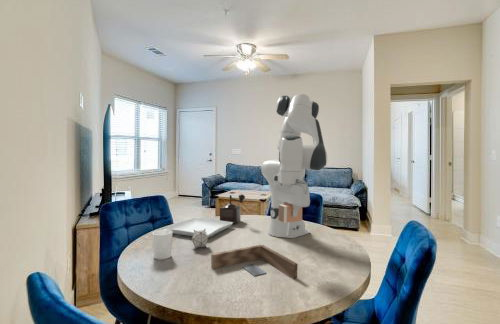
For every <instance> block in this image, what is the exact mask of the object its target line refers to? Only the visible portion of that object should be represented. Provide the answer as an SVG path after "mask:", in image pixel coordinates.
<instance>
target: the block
mask: <svg viewBox="0 0 500 324" xmlns="http://www.w3.org/2000/svg"><path fill="white" fill-rule="evenodd" d="M293 208H294V207H293V204H280V205H279V215H278V220H279V221H281V222H283V223H287V222H297V221H302V220H303V207H300V208H299V210H298V213H297V216H296V217H294V216H292V215H291V211H293Z"/></svg>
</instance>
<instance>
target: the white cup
mask: <svg viewBox="0 0 500 324" xmlns="http://www.w3.org/2000/svg"><path fill="white" fill-rule="evenodd" d="M151 233H152V249H153V258H154V259H155V260H166V259H168V258H169V259H170V258H171V257H172V249H173V236H174V235H173V234H174V233H173V231H171V230H165V229H157V230H154V231H153V232H151Z"/></svg>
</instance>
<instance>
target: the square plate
mask: <svg viewBox="0 0 500 324" xmlns="http://www.w3.org/2000/svg"><path fill="white" fill-rule="evenodd" d="M232 223H233V222H227V221H220V219H214V218H213V219H212V218H200V217H192V218H190V219H186V220H183V221H180V222H179V221H178V222H177V223H175V224H171V225H168V226H167V227H165V228H164V229H163V230H171V231H173V234H174V235H175V234H176V235H181V236H186V237H193V234H194V232H195V231H201V230H204V229H206V230H205V232H206V234H207V235H208V237H210V238H211V237H212V236H214V235H216V234H218V233H220V232H222V231H224V230H226V229H227V228H228V229H229V227H231V226H232V225H233V224H232ZM194 230H195V231H194Z"/></svg>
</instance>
